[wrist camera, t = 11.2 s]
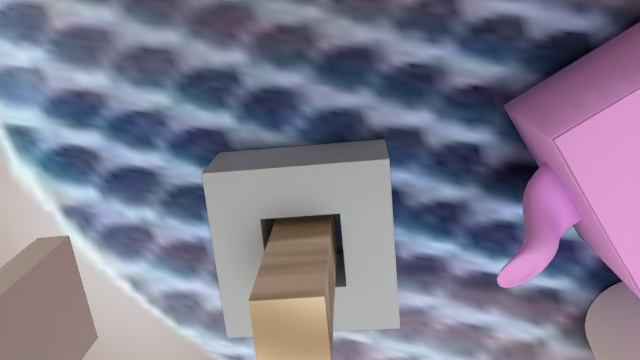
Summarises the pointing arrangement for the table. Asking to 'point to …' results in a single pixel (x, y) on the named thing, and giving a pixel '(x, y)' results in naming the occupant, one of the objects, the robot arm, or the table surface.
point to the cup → (614, 324)
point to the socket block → (306, 200)
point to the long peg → (296, 290)
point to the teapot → (583, 161)
